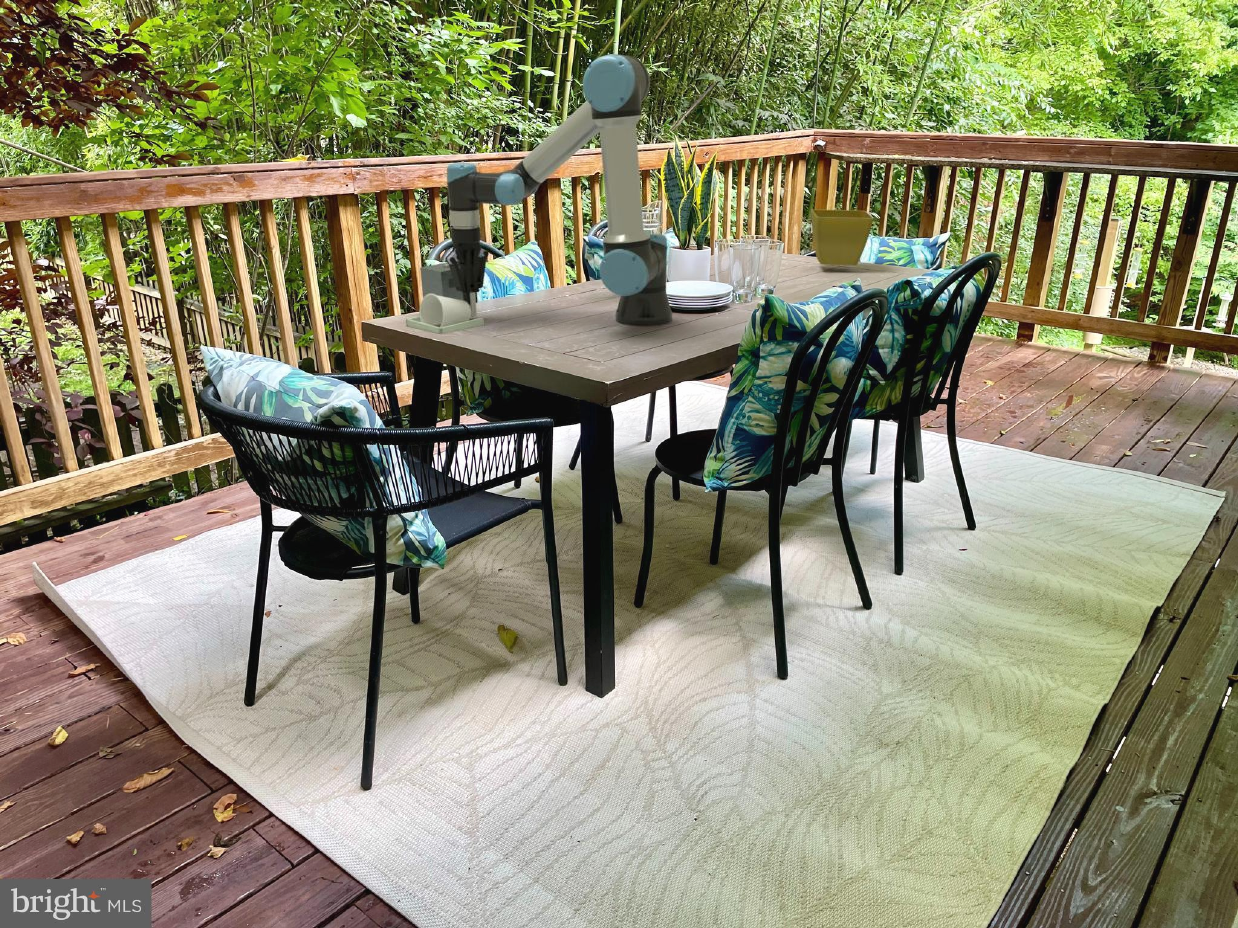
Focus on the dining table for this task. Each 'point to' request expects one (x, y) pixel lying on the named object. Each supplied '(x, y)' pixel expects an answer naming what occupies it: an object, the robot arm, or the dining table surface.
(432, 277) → the box
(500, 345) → the dining table surface
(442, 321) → the cup
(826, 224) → the flower pot
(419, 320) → the corral
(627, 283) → the robot arm
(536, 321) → the dining table surface
